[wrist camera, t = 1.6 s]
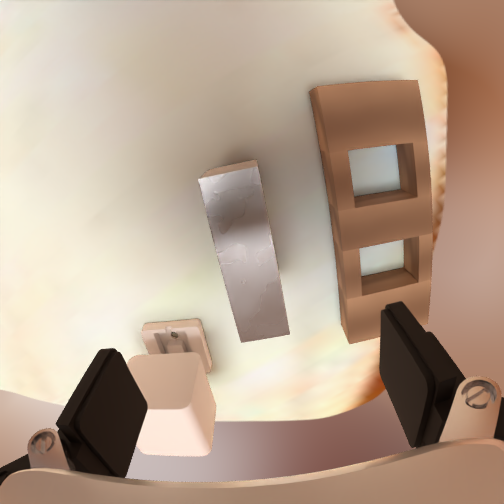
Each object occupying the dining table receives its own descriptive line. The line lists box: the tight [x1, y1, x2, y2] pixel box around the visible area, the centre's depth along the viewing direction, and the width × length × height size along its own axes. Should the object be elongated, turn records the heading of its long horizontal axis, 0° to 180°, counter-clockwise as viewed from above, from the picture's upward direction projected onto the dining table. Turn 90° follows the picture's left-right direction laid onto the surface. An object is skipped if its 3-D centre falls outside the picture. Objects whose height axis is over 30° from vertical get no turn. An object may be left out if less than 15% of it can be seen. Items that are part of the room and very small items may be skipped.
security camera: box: [127, 319, 216, 456], centre depth 25 cm, size 6×7×10 cm
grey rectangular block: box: [198, 159, 290, 343], centre depth 21 cm, size 10×3×8 cm, turn 12°
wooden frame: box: [309, 80, 433, 344], centre depth 23 cm, size 20×8×3 cm, turn 12°
